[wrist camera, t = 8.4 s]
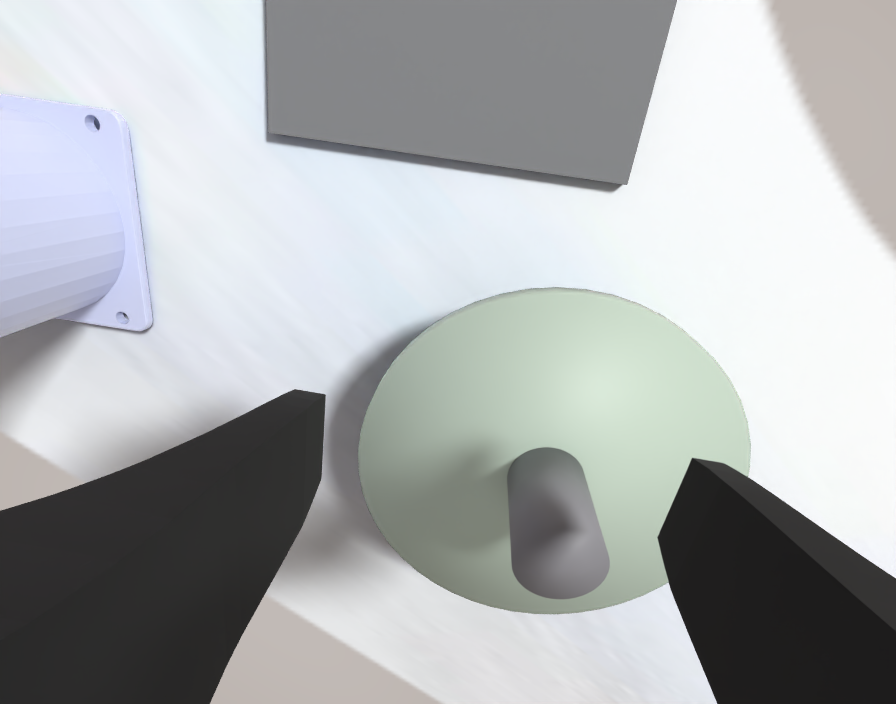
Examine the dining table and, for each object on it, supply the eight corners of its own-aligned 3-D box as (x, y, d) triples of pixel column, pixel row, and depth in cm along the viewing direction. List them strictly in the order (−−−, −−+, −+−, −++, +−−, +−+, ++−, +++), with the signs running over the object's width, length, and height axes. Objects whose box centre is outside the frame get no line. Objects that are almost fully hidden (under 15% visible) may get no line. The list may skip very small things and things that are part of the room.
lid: (357, 569, 19) (321, 678, 15) (373, 260, 14) (326, 301, 10) (670, 618, 19) (719, 744, 15) (804, 319, 14) (935, 385, 10)
